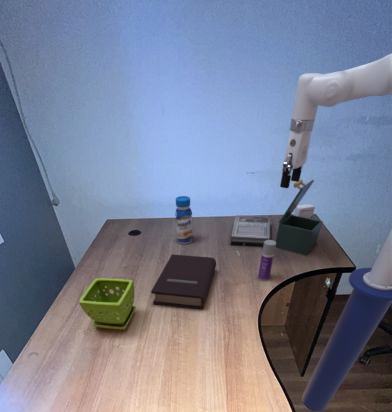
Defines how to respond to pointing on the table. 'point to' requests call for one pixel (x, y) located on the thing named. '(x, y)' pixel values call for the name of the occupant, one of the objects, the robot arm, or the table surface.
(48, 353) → the table surface
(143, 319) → the table surface
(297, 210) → the ink box
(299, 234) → the chest
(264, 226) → the hard drive
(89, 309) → the flower pot
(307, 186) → the lid
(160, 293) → the book
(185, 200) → the beverage bottle
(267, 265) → the container
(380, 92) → the robot arm
